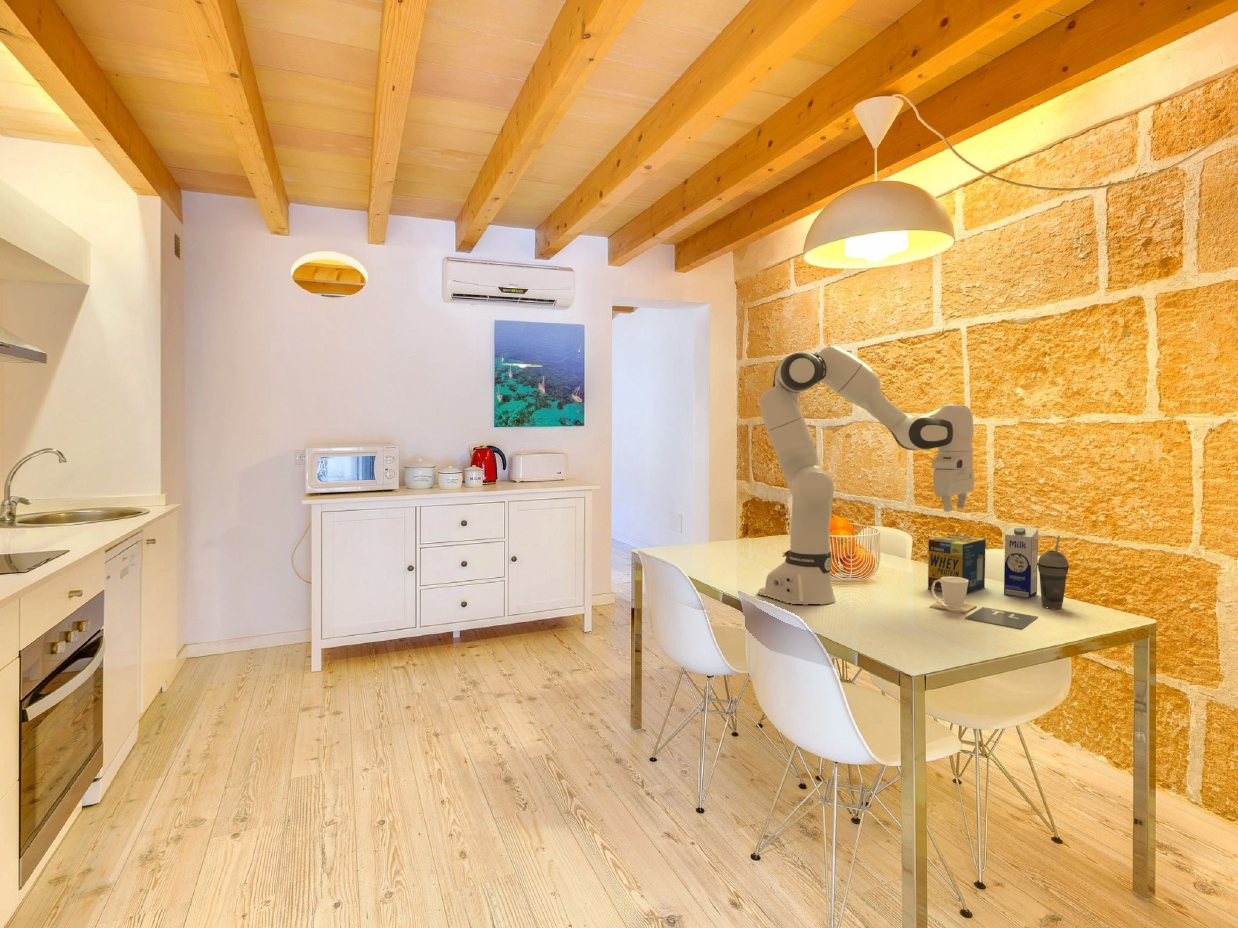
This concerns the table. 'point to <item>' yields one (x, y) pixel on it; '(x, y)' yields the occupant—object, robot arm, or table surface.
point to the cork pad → (965, 610)
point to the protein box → (957, 560)
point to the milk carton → (1021, 562)
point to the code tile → (1001, 618)
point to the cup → (952, 592)
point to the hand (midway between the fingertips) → (954, 509)
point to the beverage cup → (1052, 577)
